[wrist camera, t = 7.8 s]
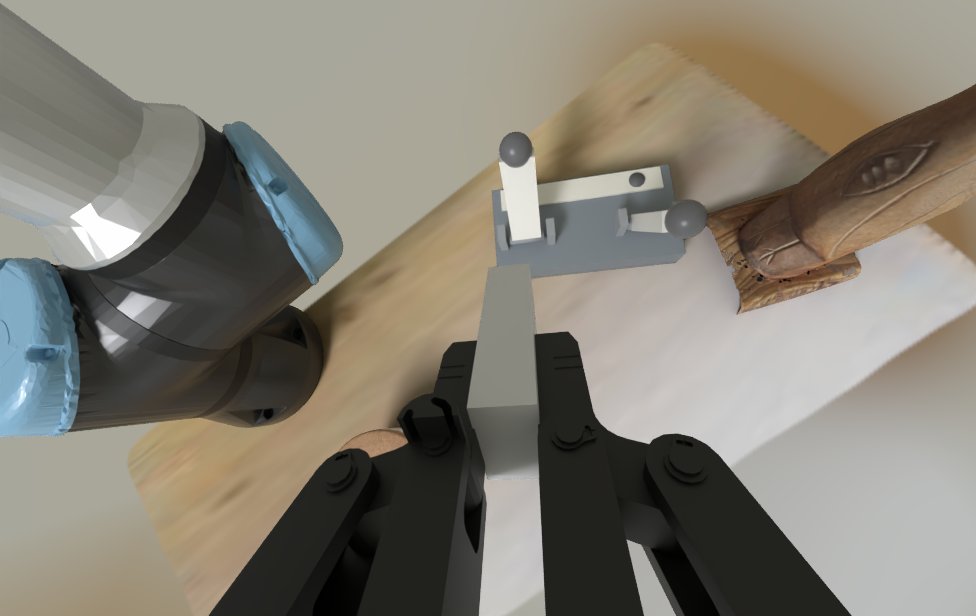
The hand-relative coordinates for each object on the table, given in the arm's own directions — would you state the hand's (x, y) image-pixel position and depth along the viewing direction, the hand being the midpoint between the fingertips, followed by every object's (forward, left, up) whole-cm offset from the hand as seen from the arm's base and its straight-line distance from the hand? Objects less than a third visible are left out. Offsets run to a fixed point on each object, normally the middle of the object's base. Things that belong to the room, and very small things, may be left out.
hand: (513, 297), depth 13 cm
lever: (+7, +15, -22) cm, 28 cm away
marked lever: (-4, +11, -22) cm, 25 cm away
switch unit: (+1, +15, -26) cm, 30 cm away
